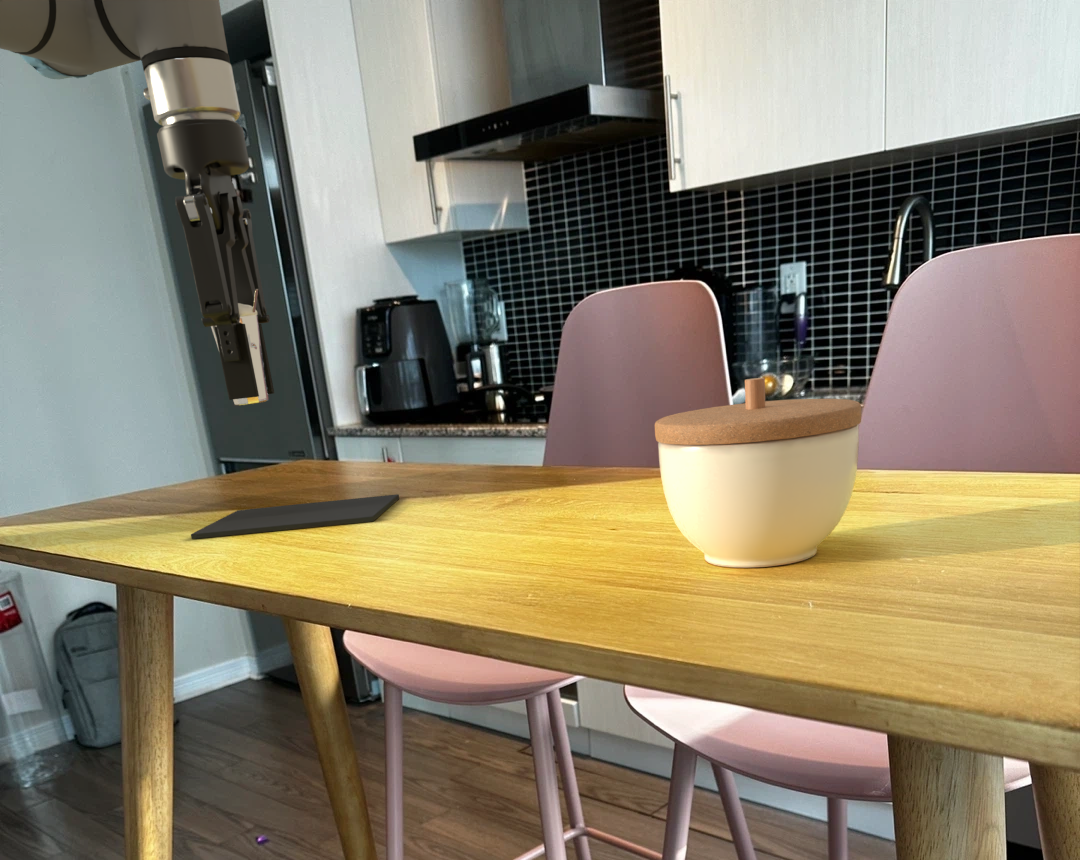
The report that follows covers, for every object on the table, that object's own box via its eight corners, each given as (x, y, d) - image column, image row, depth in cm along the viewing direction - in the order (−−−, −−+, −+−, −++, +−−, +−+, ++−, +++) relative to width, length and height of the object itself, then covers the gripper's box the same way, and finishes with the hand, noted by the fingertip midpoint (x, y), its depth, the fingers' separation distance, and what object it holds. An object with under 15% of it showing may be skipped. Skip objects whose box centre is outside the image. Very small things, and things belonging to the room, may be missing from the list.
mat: (191, 539, 99) (190, 534, 99) (238, 514, 112) (237, 510, 112) (373, 521, 98) (372, 516, 98) (399, 498, 111) (398, 494, 111)
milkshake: (268, 403, 98) (244, 289, 94) (219, 408, 99) (193, 296, 95) (290, 396, 102) (268, 288, 98) (243, 401, 103) (219, 294, 99)
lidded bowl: (794, 586, 59) (790, 385, 55) (624, 569, 67) (611, 395, 64) (896, 540, 67) (899, 362, 63) (733, 530, 76) (727, 373, 72)
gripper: (194, 146, 100) (243, 395, 108) (116, 111, 84) (181, 407, 92) (268, 136, 100) (312, 387, 108) (204, 98, 83) (262, 397, 92)
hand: (252, 395), depth 100 cm, fingers closed on milkshake, 4 cm apart
